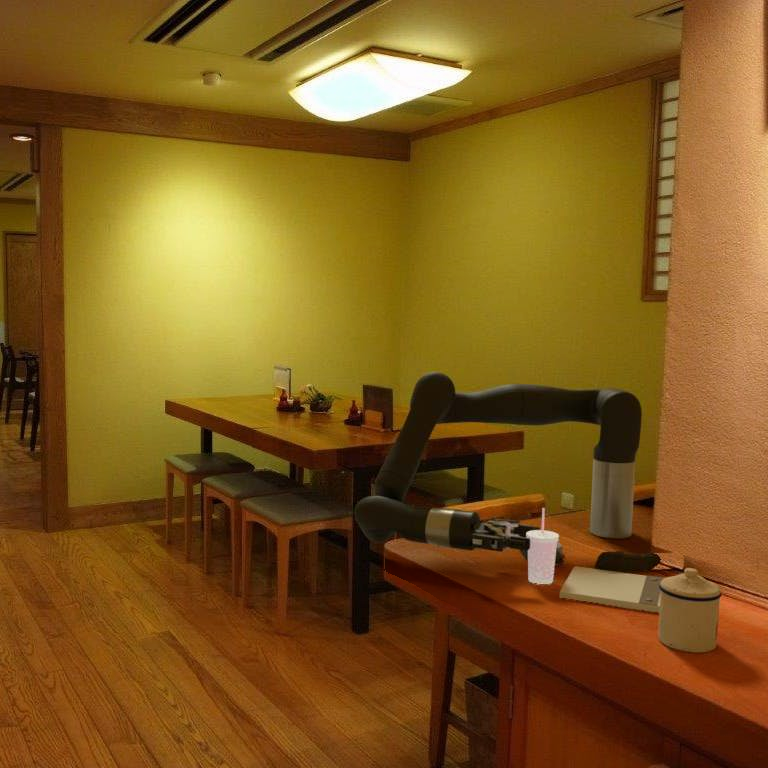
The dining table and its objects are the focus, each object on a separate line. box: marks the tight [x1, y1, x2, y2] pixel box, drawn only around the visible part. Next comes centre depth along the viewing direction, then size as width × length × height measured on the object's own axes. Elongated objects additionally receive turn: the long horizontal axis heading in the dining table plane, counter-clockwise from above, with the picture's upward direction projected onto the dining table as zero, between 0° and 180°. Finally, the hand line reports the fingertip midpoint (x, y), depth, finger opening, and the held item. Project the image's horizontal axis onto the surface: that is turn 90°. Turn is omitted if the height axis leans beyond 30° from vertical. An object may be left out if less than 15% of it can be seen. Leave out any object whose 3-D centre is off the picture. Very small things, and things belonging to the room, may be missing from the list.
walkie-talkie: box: [518, 537, 564, 566], centre depth 177 cm, size 9×4×20 cm
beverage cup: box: [526, 507, 560, 585], centre depth 158 cm, size 6×6×14 cm
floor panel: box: [559, 565, 666, 614], centre depth 152 cm, size 16×24×2 cm, turn 68°
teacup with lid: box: [657, 567, 722, 654], centre depth 131 cm, size 12×9×12 cm
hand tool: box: [594, 550, 661, 573], centre depth 165 cm, size 19×4×5 cm, turn 103°
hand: (534, 538), depth 158 cm, fingers open, 8 cm apart
